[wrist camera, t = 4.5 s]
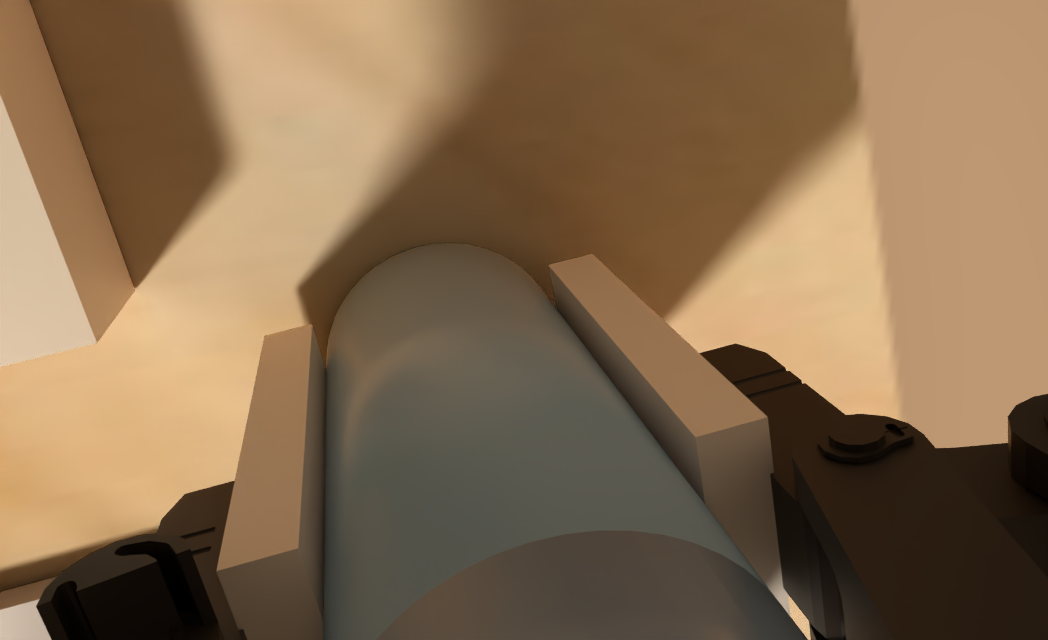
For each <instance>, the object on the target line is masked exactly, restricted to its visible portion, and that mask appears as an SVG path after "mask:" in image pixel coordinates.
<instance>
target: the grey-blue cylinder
mask: <svg viewBox="0 0 1048 640" xmlns="http://www.w3.org/2000/svg"><path fill="white" fill-rule="evenodd" d="M323 640H808V639H807V638H806V637H805V635H804V634H803V633H802V631H801V630H800V629H799V627H798V626H797V625H796V623H795V622H794V621H793V619H792V618H791V617H790V616H789V614H788V613H787V612H786V610H785V609H784V608H783V606H782V605H781V604H780V602H779V601H778V600H777V598H776V597H775V596H774V594H773V593H772V592H771V590H770V589H769V588H768V587H767V585H766V584H765V583H764V581H763V580H762V579H761V577H760V576H759V575H758V573H757V572H756V571H755V569H754V568H753V567H752V565H751V564H750V563H749V562H748V560H747V559H746V558H745V556H744V555H743V554H742V552H741V551H740V550H739V548H738V547H737V546H736V544H735V543H734V542H733V540H732V539H731V538H730V536H729V535H728V534H727V533H726V531H725V530H724V529H723V527H722V526H721V525H720V523H719V522H718V521H717V519H716V518H715V517H714V515H713V514H712V513H711V511H710V510H709V509H708V507H707V506H706V505H705V504H704V502H703V501H702V500H701V498H700V497H699V496H698V494H697V493H696V492H695V490H694V489H693V488H692V486H691V485H690V484H689V482H688V481H687V480H686V479H685V477H684V476H683V475H682V473H681V472H680V471H679V469H678V468H677V467H676V465H675V464H674V463H673V461H672V460H671V459H670V457H669V456H668V455H667V453H666V452H665V451H664V450H663V448H662V447H661V446H660V444H659V443H658V442H657V440H656V439H655V438H654V436H653V435H652V434H651V432H650V431H649V430H648V428H647V427H646V426H645V425H644V423H643V422H642V421H641V419H640V418H639V417H638V415H637V414H636V413H635V411H634V410H633V409H632V407H631V406H630V405H629V403H628V402H627V401H626V399H625V398H624V397H623V396H622V394H621V393H620V392H619V390H618V389H617V388H616V386H615V385H614V384H613V382H612V381H611V380H610V378H609V377H608V376H607V374H606V373H605V372H604V370H603V369H602V368H601V367H600V365H599V364H598V363H597V361H596V360H595V359H594V357H593V356H592V355H591V353H590V352H589V351H588V349H587V348H586V347H585V345H584V344H583V343H582V342H581V340H580V339H579V338H578V336H577V335H576V334H575V332H574V331H573V330H572V328H571V327H570V326H569V324H568V323H567V322H566V320H565V319H564V318H563V316H562V315H561V314H560V313H559V311H558V310H557V309H556V307H555V306H554V305H553V303H552V302H551V301H550V299H549V298H548V297H547V295H546V294H545V293H544V291H543V290H542V289H541V288H540V286H539V285H538V284H537V283H536V282H535V280H534V279H533V278H532V277H531V276H530V275H529V274H528V273H527V272H526V271H525V270H523V269H522V268H521V267H520V266H518V265H517V264H515V263H514V262H513V261H511V260H510V259H508V258H506V257H504V256H502V255H500V254H498V253H496V252H494V251H491V250H488V249H485V248H482V247H478V246H473V245H468V244H459V243H437V244H430V245H424V246H419V247H415V248H412V249H409V250H406V251H403V252H401V253H399V254H396V255H394V256H392V257H390V258H388V259H386V260H385V261H383V262H382V263H380V264H379V265H377V266H375V267H374V268H373V269H372V270H370V271H369V272H368V273H367V274H366V275H364V276H363V277H362V278H361V279H360V280H359V281H358V282H357V284H356V285H355V286H354V287H353V288H352V289H351V290H350V292H349V293H348V295H347V296H346V297H345V299H344V300H343V302H342V304H341V306H340V308H339V310H338V311H337V313H336V315H335V318H334V321H333V324H332V327H331V329H330V334H329V339H328V344H327V365H326V440H325V515H324V591H323Z"/></svg>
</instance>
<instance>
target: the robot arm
mask: <svg viewBox="0 0 1048 640" xmlns="http://www.w3.org/2000/svg"><path fill="white" fill-rule="evenodd" d="M548 267H549V272H550V277H551V282H552V287H553V292H554V297H555V302H556V308H557V310H558V311H559V313H560V314H561V315H562V316H563V318H564V319H565V320H566V322H567V323H568V324H569V326H570V327H571V328H572V330H573V331H574V332H575V334H576V335H577V336H578V338H579V339H580V340H581V342H582V343H583V344H584V345H585V347H586V348H587V349H588V351H589V352H590V353H591V355H592V356H593V357H594V359H595V360H596V361H597V363H598V364H599V365H600V367H601V368H602V369H603V370H604V372H605V373H606V374H607V376H608V377H609V378H610V380H611V381H612V382H613V384H614V385H615V386H616V388H617V389H618V390H619V392H620V393H621V394H622V396H623V397H624V398H625V399H626V401H627V402H628V403H629V405H630V406H631V407H632V409H633V410H634V411H635V413H636V414H637V415H638V417H639V418H640V419H641V421H642V422H643V423H644V425H645V426H646V427H647V428H648V430H649V431H650V432H651V434H652V435H653V436H654V438H655V439H656V440H657V442H658V443H659V444H660V446H661V447H662V448H663V450H664V451H665V452H666V453H667V455H668V456H669V457H670V459H671V460H672V461H673V463H674V464H675V465H676V467H677V468H678V469H679V471H680V472H681V473H682V475H683V476H684V477H685V479H686V480H687V481H688V482H689V484H690V485H691V486H692V488H693V489H694V490H695V492H696V493H697V494H698V496H699V497H700V498H701V500H702V501H703V502H704V504H705V505H706V506H707V507H708V509H709V510H710V511H711V513H712V514H713V515H714V517H715V518H716V519H717V521H718V522H719V523H720V525H721V526H722V527H723V529H724V530H725V531H726V533H727V534H728V535H729V536H730V538H731V539H732V540H733V542H734V543H735V544H736V546H737V547H738V548H739V550H740V551H741V552H742V554H743V555H744V556H745V558H746V559H747V560H748V562H749V563H750V564H751V565H752V567H753V568H754V569H755V571H756V572H757V573H758V575H759V576H760V577H761V579H762V580H763V581H764V583H765V584H766V585H767V587H768V588H769V589H770V590H771V592H772V593H773V594H774V596H775V597H776V598H777V600H778V601H779V602H780V604H781V605H782V606H783V608H784V609H785V610H786V612H787V613H788V614H789V616H790V608H789V599H788V595H789V596H790V597H791V598H792V600H793V601H794V602H795V604H796V605H797V606H798V607H799V609H800V610H801V611H802V612H803V614H804V615H805V616H806V618H807V619H808V620H809V625H810V634H811V640H1048V394H1045V395H1040V396H1035V397H1032V398H1030V399H1028V400H1026V401H1024V402H1022V403H1020V404H1018V405H1016V406H1015V408H1014V409H1013V410H1012V412H1011V413H1010V415H1009V416H1008V443H1004V444H1003V443H1002V444H991V445H980V446H969V447H959V448H935V447H934V446H933V445H932V444H931V443H930V441H929V440H928V439H927V438H926V437H925V435H924V434H922V433H921V432H920V431H918V430H917V429H915V428H914V427H912V426H911V425H910V424H908V423H905V422H902V421H899V420H896V419H893V418H890V417H887V416H877V415H867V414H855V415H845V414H844V413H842V412H841V411H840V410H838V409H837V408H836V407H835V406H833V405H832V404H831V403H830V402H828V401H827V400H826V399H824V398H823V397H822V396H821V395H819V394H818V393H817V392H816V391H814V390H813V389H812V388H810V387H809V386H808V385H807V384H805V383H804V384H802V382H801V380H800V379H799V378H798V377H796V376H795V375H794V374H793V373H791V372H790V371H786V369H785V367H784V366H782V365H781V364H780V363H779V362H777V361H776V360H775V359H774V358H772V357H771V356H770V355H768V354H767V353H765V352H762V351H759V350H755V349H752V348H749V347H745V346H742V345H739V344H732V345H728V346H725V347H721V348H717V349H714V350H710V351H706V352H702V353H698V352H697V351H696V350H695V349H694V348H693V347H692V346H691V345H690V344H689V343H688V342H686V341H685V340H684V339H683V338H682V337H681V336H680V335H679V334H678V333H677V332H676V331H675V330H674V329H672V328H671V327H670V326H669V325H668V324H667V323H666V322H665V321H664V320H663V319H662V318H661V317H660V316H659V315H657V314H656V313H655V312H654V311H653V310H652V309H651V308H650V307H649V306H648V305H647V304H646V303H645V302H643V301H642V300H641V299H640V298H639V297H638V296H637V295H636V294H635V293H634V292H633V291H632V290H631V289H629V288H628V287H627V286H626V285H625V284H624V283H623V282H622V281H621V280H620V279H619V278H618V277H617V276H615V275H614V274H613V273H612V272H611V271H610V270H609V269H608V268H607V267H606V266H605V265H604V264H603V263H601V262H600V261H599V260H598V259H597V258H596V257H595V256H594V255H593V254H589V255H585V256H581V257H577V258H573V259H569V260H565V261H561V262H557V263H553V264H549V265H548ZM325 440H326V369H325V366H324V363H323V359H322V356H321V352H320V349H319V346H318V342H317V339H316V336H315V332H314V329H313V326H312V324H310V325H306V326H302V327H298V328H294V329H290V330H286V331H282V332H278V333H274V334H270V335H266V336H264V341H263V346H262V351H261V356H260V361H259V366H258V370H257V375H256V380H255V385H254V390H253V395H252V400H251V404H250V409H249V414H248V419H247V424H246V429H245V434H244V439H243V443H242V448H241V453H240V458H239V463H238V468H237V473H236V478H235V481H232V482H228V483H225V484H221V485H217V486H213V487H210V488H206V489H202V490H198V491H195V492H191V493H187V494H185V495H184V496H183V497H182V498H181V499H180V500H179V501H178V502H177V503H176V504H175V505H174V507H173V508H172V509H171V510H170V511H169V512H168V513H167V514H166V515H165V516H164V517H163V518H162V520H161V523H160V526H159V529H158V532H157V534H144V535H140V536H136V537H132V538H129V539H125V540H121V541H118V542H115V543H113V544H110V545H108V546H106V547H104V548H101V549H99V550H97V551H95V552H93V553H90V554H88V555H87V556H85V557H84V558H82V559H81V560H79V561H77V562H76V563H74V564H73V565H71V566H70V567H68V568H67V569H65V570H64V571H62V572H61V573H60V574H59V575H58V576H57V577H56V578H55V579H54V580H53V581H52V582H51V583H50V584H49V585H48V586H47V587H46V588H45V589H44V591H43V593H42V595H41V597H40V599H39V601H38V603H37V605H36V608H37V610H38V612H39V614H40V616H41V618H42V621H43V623H44V625H45V627H46V629H47V631H48V633H49V636H50V638H51V640H323V591H324V515H325Z"/></svg>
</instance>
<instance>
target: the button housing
mask: <svg viewBox="0 0 1048 640" xmlns="http://www.w3.org/2000/svg"><path fill="white" fill-rule="evenodd" d="M134 291H135V289H134V286H133V283H132V281H131V278H130V275H129V273H128V270H127V267H126V264H125V262H124V259H123V256H122V253H121V251H120V248H119V245H118V242H117V240H116V237H115V234H114V231H113V229H112V226H111V223H110V220H109V218H108V215H107V212H106V210H105V207H104V204H103V201H102V199H101V196H100V193H99V190H98V188H97V185H96V182H95V179H94V177H93V174H92V171H91V168H90V166H89V163H88V160H87V157H86V155H85V152H84V149H83V147H82V144H81V141H80V138H79V136H78V133H77V130H76V127H75V125H74V122H73V119H72V116H71V114H70V111H69V108H68V105H67V103H66V100H65V97H64V94H63V92H62V89H61V86H60V84H59V81H58V78H57V75H56V73H55V70H54V67H53V64H52V62H51V59H50V56H49V53H48V51H47V48H46V45H45V42H44V40H43V37H42V34H41V31H40V29H39V26H38V23H37V21H36V18H35V15H34V12H33V10H32V7H31V4H30V1H29V0H0V367H2V366H7V365H11V364H15V363H19V362H23V361H27V360H31V359H35V358H39V357H43V356H47V355H51V354H55V353H59V352H63V351H68V350H72V349H76V348H80V347H84V346H88V345H92V344H96V343H98V341H99V340H100V338H101V337H102V336H103V334H104V333H105V331H106V330H107V329H108V327H109V326H110V324H111V323H112V322H113V320H114V319H115V318H116V316H117V315H118V313H119V312H120V311H121V309H122V308H123V306H124V305H125V304H126V302H127V301H128V299H129V298H130V297H131V295H132V294H133V293H134Z"/></svg>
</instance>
